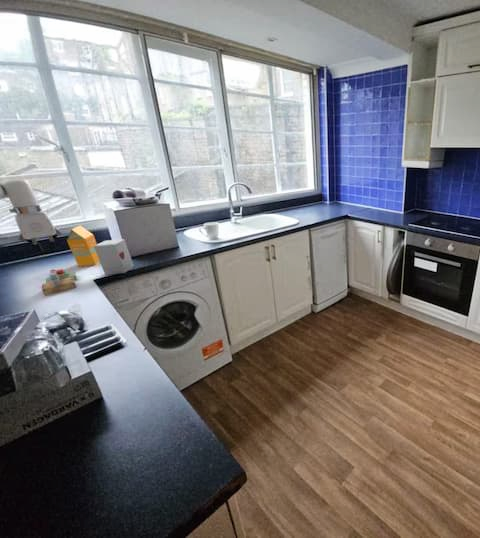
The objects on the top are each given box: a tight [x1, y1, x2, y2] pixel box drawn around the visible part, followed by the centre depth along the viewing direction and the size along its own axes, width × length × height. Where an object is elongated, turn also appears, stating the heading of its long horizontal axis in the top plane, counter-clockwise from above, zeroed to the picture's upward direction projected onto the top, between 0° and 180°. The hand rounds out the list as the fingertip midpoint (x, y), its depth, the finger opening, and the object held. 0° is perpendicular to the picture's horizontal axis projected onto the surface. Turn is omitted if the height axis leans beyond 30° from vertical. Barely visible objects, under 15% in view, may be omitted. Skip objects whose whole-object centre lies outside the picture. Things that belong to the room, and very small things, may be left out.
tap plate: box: [40, 277, 77, 296], centre depth 129 cm, size 11×11×3 cm
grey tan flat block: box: [49, 268, 60, 286], centre depth 127 cm, size 7×2×5 cm, turn 45°
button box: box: [45, 270, 78, 283], centre depth 136 cm, size 10×7×4 cm
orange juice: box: [66, 225, 100, 268], centre depth 154 cm, size 8×9×20 cm
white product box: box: [94, 238, 135, 276], centre depth 144 cm, size 9×9×15 cm
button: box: [55, 269, 65, 275], centre depth 135 cm, size 3×3×2 cm
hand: (48, 250), depth 131 cm, fingers open, 3 cm apart
